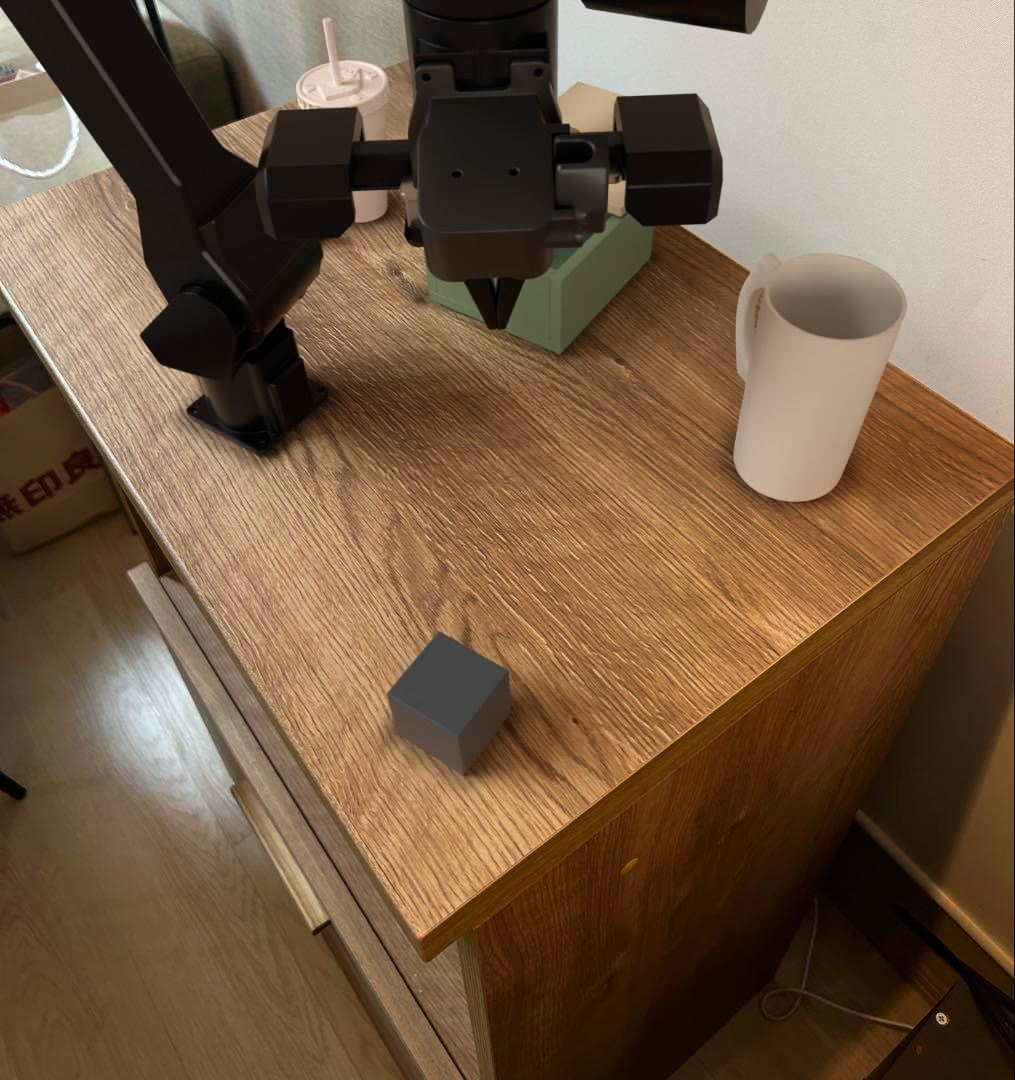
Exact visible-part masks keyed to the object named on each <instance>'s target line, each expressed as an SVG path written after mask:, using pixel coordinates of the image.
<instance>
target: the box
mask: <svg viewBox="0 0 1015 1080" xmlns="http://www.w3.org/2000/svg"><path fill="white" fill-rule="evenodd" d="M654 227H655V226H647V227H643V226H642V225H641V224H640V223H639V222H637V221H636V220H635V219H634V218H633V217H632V216H631V215H630V214H629V213H627V212H625V213H624V214H623V215H622V216H621V217H620V216H617V215H614V214H611V213H608V212H607V220H606V229H605V231H604V232H603V233H594V234H586V235H584V236H583V247H580V248H575V247H573V248H554V254H553V263H552V265H551V267H550V268H549V270H548V271H547V272H546V273H545V274H543V275H541V276H540V277H537V278H534V279H527V280H525V282H524V284H523V286H522V289H521V291H520V294H519V297H518V299H517V302H516V304H515V307H514V309H513V312H512V314H511V317H510V319H509V322H508V324H507V327H506V329H504V330H502V331H503V332H506V333H508V334H511V335H512V336H515V337H518V338H520V339H522V340H525V341H527V342H529V343H532V344H534V345H537V346H538V347H541V348H544V349H546V350H548V351H551V352H553V353H555V354H558V355H561V354H562V353H563V352H564V351H566V349H567V348H568V347H569V346H570V345H571V344H572V342H573V341H574V340H575V339H576V338H577V337H578V336H579V335H580V334H581V333H582V332H583V331H584V330H585V329H586V328H587V326H588V325H589V324H591V322H592V321H593V320H594V319H595V318H596V317H597V316H598V314H599V313H600V312H601V311H602V310H604V308H605V307H606V306H607V305H608V304H609V303H610V302H611V301H612V299H613V298H615V296H616V295H617V294H618V293H619V292H620V291H621V290H622V289H623V288H624V287H625V286H626V284H627V283H628V282H629V281H630V280H631V279H632V278H633V277H634V276H635V275H636V274H637V273H638V272H639V271H640V270H641V268H642V267H643V266H644V265H646V263H647V262H648V261H649V260H650V259H651V256H652V246H653V237H654ZM422 248H423V249H424V247H422ZM423 256H424V257H423V258H424V264H425V266H424V267H425V274H426V282H427V289H428V292H427V293H428V299H429V300H430V301H432V302H435V303H437V304H439V305H442V306H444V307H447V308H448V309H449V308H450V309H451V310H454V311H456V312H457V313H460V314H463V315H465V316H468V317H470V318H473V319H475V320H477V321H480V322H482V323H484V324H485V322H484V320H483V318H482V316H481V314H480V312H479V310H478V308H477V306H476V305H475V303H474V301H473V299H472V297H471V295H470V293H469V291H468V289H467V288H466V286H465V284H464V282H445V281H442V280H439V279H437V278H436V277H435V276H433V275H432V274H431V272H430V271H429V269H428V266H427V263H426V257H425V252H424V251H423ZM494 280H495V287H496V278H494Z"/></svg>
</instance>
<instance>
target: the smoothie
mask: <svg viewBox="0 0 1015 1080" xmlns="http://www.w3.org/2000/svg"><path fill="white" fill-rule="evenodd" d="M322 26H323V30H324V36H325V37H324V38H325V42H326V48H327V54H328V59H329V62H327V63H324V64H320V65H317V66H315V67H313V68H311V69H310V70H308V71H306V72H305V73H304V74H303V75H301V77H300V78H299V79H298V80H297V82H296V86H295V91H296V95H297V104H298V106H299V109H318V108H343V107H358V109H359V111H360V113H361V115H362V118H363V125H364V131H365V137H366V140H365V141H369V140H388V109H387V108H388V107H387V106H388V104H387V103H388V102H389V100H390V99H391V94H392V89H391V87H390V79H389V76H388V74H387V72H386V71H385V70H384V69H383V68H381V67H380V66H378V65H376V64H373V63H371V62H367V61H362V60H352V59H351V60H350V59H349V60H347V59H346V60H339V57H338V52H337V46H336V45H337V44H336V40H335V34H334V28H333V21H332V18H330V17H325V18H323V19H322ZM352 193H353V199H354V204H355V210H356V216H355V222H354V223H357V224H358V223H369V222H373V221H375V220H377V219H379V218H381V217H382V216H383V215H385V214H386V212H387V211H388V208H389V207H388V206H389V202H388V197H389V195H388V190H375V191H353V192H352Z"/></svg>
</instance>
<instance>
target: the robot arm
mask: <svg viewBox="0 0 1015 1080" xmlns="http://www.w3.org/2000/svg"><path fill="white" fill-rule="evenodd" d="M580 2H581V3H582V4H583V6H584V8H585V9H586V10H587V9H588V10H590V11H597V12H605V13H610V14H616V15H623V16H628V17H635V18H641V19H642V18H643V19H647V20H648V19H649V20H655V21H661V22H667V23H668V22H669V23H674V24H681V25H687V26H693V27H700V28H706V29H711V30H719V31H725V32H731V33H737V34H743V35H744V34H745V35H753V33H754V32H756V30H757V28H758V26H759V24H760V22H761V19H762V17H763V15H764V13H765V9H766V8H767V5H768V2H769V0H580ZM401 3H402V13H403V21H404V28H405V29H404V32H405V38H406V40H405V41H406V49H407V57H408V64H409V65H408V67H409V75H410V84H411V93H412V105H411V106H412V107H411V109H410V113H409V118H408V128H407V138H400V139H399V138H397V139H387V140H369V141H365V140H366V137H365V131H364V125H363V118H362V115H361V113H360V111H359V109H358V107H343V108H318V109H301V108H296V109H295V108H294V109H278V110H277V112H276V113H275V114H274V116H273V118H272V119H271V120H270V122H269V124H268V125H267V127H266V132H265V136H264V140H263V143H262V144H263V145H262V148H261V152H260V156H259V160H258V162H257V163H258V164H257V165H255V164H253V163H252V162H250V161H249V160H247V159H245V158H243V157H242V156H240V155H239V154H236V153H235V152H233V151H232V150H229V149H228V148H226V147H225V146H223V145H222V143H221V142H220V141H219V139H218V138H217V137H216V135H215V134H214V132H213V130H212V129H211V127H210V125H209V124H208V123H207V121H206V119H205V118H204V116H203V114H202V113H201V112H200V109H199V108H198V107H197V105H196V103H195V101H194V100H193V99H192V97H191V95H190V94H189V92H188V90H187V89H186V87H185V86H184V84H183V82H182V81H181V79H180V78H179V76H178V75H177V73H176V72H175V69H174V68H173V66H172V65H171V63H170V61H169V60H168V58H167V57H166V56H165V53H164V52H163V50H162V48H161V47H160V46H159V44H158V42H157V41H156V39H155V37H154V36H153V34H152V32H151V31H150V29H149V28H148V27H147V25H146V23H145V21H144V20H143V18H142V17H141V15H140V14H139V12H138V10H137V9H136V7H135V5H134V4H133V2H132V1H131V0H0V9H1V11H2V12H3V13H4V14H5V16H6V18H7V19H8V21H9V22H10V24H12V26H13V27H14V29H16V32H17V33H18V35H19V36H20V37H21V38H22V40H23V42H24V43H25V44H26V46H27V47H28V48H29V50H30V51H31V53H32V54H33V56H34V57H35V58H36V60H37V61H38V63H39V64H40V66H41V67H42V68H43V70H44V71H45V73H46V74H47V75H48V77H49V79H51V81H52V83H53V84H54V85H55V87H56V88H57V90H58V91H59V93H60V94H61V95H62V96H63V98H64V100H65V101H66V102H67V103H68V105H69V106H70V108H71V109H72V111H73V112H74V114H75V115H76V116H77V118H78V119H79V121H80V122H81V123H82V124H83V126H84V128H85V129H86V130H87V132H88V133H89V134H90V136H91V137H92V139H93V140H94V142H95V143H96V145H97V146H98V147H99V149H100V150H101V152H102V153H103V155H105V157H106V159H107V160H108V161H109V163H110V164H111V166H112V167H113V169H114V170H115V172H116V173H117V174H118V176H119V178H120V179H121V180H122V181H123V182H124V184H125V186H126V187H127V188H128V190H129V192H130V193H131V195H132V197H133V198H134V201H135V207H136V214H137V220H138V227H139V234H140V240H141V242H140V243H141V249H142V255H143V261H144V265H145V266H146V268H147V269H146V270H148V272H149V274H150V276H151V278H152V279H153V281H154V283H155V284H156V286H157V287H158V289H159V291H160V293H161V294H162V296H163V297H164V299H165V301H166V303H167V305H166V306H165V307H164V308H163V309H162V310H161V311H160V312H159V313H158V315H156V317H154V318H153V319H152V320H151V322H150V323H149V324H148V325H147V326H146V327H145V328H144V329H143V330H142V331H141V332H140V333H139V337H140V339H141V341H142V342H143V343H144V345H145V346H146V348H147V349H148V350H149V352H150V353H151V355H152V356H153V357H154V359H155V360H156V361H157V363H158V364H159V365H160V366H162V367H166V368H169V369H173V370H176V371H178V372H182V373H185V374H190V375H192V376H195V377H196V380H197V382H198V386H199V388H200V390H201V393H202V394H201V396H199V397H198V398H197V399H196V400H194V401H193V402H192V403H191V404H190V405H188V406H187V408H186V410H185V412H186V415H187V418H188V419H189V420H191V421H192V422H194V423H196V424H198V425H200V426H202V427H204V428H205V429H208V430H210V431H211V432H213V433H214V434H217V435H219V436H220V437H223V438H224V439H226V440H228V441H230V442H231V443H233V444H235V445H237V446H239V447H241V448H243V449H245V450H246V451H249V452H250V453H252V454H253V455H256V456H264V455H267V454H268V453H269V452H270V451H271V450H272V449H273V448H275V446H277V445H278V444H279V443H280V442H281V441H283V440H284V439H285V438H286V437H287V436H288V435H289V434H290V433H291V432H293V431H294V430H295V428H297V427H298V426H299V425H300V424H301V423H302V422H303V421H305V419H307V417H309V416H310V415H311V414H312V413H313V412H314V411H315V410H317V408H319V407H320V406H321V405H322V404H323V403H325V401H326V400H327V399H329V397H330V390H329V387H328V386H327V385H326V384H324V383H323V382H320V381H317V380H315V379H313V378H311V377H309V376H308V373H307V370H306V365H305V361H304V359H303V357H301V356H300V351H299V348H298V344H297V339H296V336H295V333H294V330H293V329H292V328H289V327H287V324H286V320H285V316H286V315H287V314H288V313H289V311H290V310H291V309H292V308H293V307H294V306H295V305H296V304H297V302H298V301H299V300H301V299H302V298H304V296H305V295H306V293H307V290H308V288H309V287H310V286H311V285H312V284H313V282H315V280H316V279H317V277H318V276H319V275H320V272H321V267H322V261H323V259H324V258H325V257H324V256H325V255H324V250H323V246H322V243H321V241H320V240H329V239H332V240H333V239H340V238H341V237H342V236H343V235H344V234H345V233H346V231H347V230H348V229H349V228H350V227H351V226H352V225H353V224H354V223H356V222H355V216H356V210H355V204H354V199H353V193H352V192H353V191H375V190H387V191H397V190H399V194H400V202H401V203H404V210H405V213H404V214H405V216H404V227H403V228H404V229H403V237H404V239H405V241H406V242H407V244H408V245H410V246H411V247H414V248H423V247H424V248H423V253H424V252H425V257H426V263H427V266H428V269H429V271H430V272H431V274H432V275H433V276H435V277H436V278H437V279H439V280H442V281H445V282H464V284H465V286H466V288H467V289H468V291H469V293H470V295H471V297H472V299H473V301H474V303H475V305H476V306H477V308H478V310H479V312H480V314H481V316H482V318H483V320H484V322H485V323H484V322H483V323H484V324H485V326H486V328H487V329H488V330H489V331H496V330H498V331H500V330H501V331H503V330H504V329H506V327H507V324H508V322H509V319H510V317H511V314H512V312H513V309H514V307H515V304H516V302H517V299H518V297H519V294H520V291H521V289H522V286H523V284H524V282H525V280H527V279H534V278H537V277H540V276H541V275H543V274H545V273H546V272H547V271H548V270H549V268H550V267H551V265H552V263H553V254H554V248H573V247H575V248H580V247H583V236H584V235H586V234H594V233H603V232H604V231H605V229H606V220H607V211H608V190H609V184H617V183H620V182H621V181H625V196H624V205H625V211H626V212H627V213H629V214H630V215H631V216H632V217H633V218H634V219H635V220H636V221H637V222H639V223H640V224H641V225H642V226H643V227H647V226H654V227H668V226H670V227H673V226H695V225H696V226H697V225H707V224H708V223H710V222H711V221H712V220H714V219H715V218H717V217H718V216H719V209H720V202H721V195H722V190H723V183H724V159H723V155H722V151H721V148H720V144H719V140H718V137H717V133H716V130H715V125H714V123H713V122H714V121H713V119H712V116H711V111H710V108H709V107H708V106H707V104H706V103H705V102H704V101H703V99H702V98H701V97H700V96H699V94H698V93H697V92H694V93H693V92H692V93H691V92H690V93H672V94H671V93H669V94H667V93H666V94H646V95H645V94H643V95H641V94H640V95H624V96H617V98H616V101H615V104H614V112H613V131H603V132H578V133H572V127H571V126H570V124H569V123H568V124H563V123H562V114H561V111H560V108H559V105H558V97H559V96H558V95H559V93H558V92H559V75H558V74H559V0H401ZM425 257H424V258H425ZM494 278H496V287H495V280H494Z"/></svg>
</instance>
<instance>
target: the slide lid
mask: <svg viewBox="0 0 1015 1080" xmlns="http://www.w3.org/2000/svg"><path fill="white" fill-rule="evenodd" d="M617 96H625V94H621V93H618V92H614V91H611V90H607V89H604V88H601V87H598V86H595V85H591V84H588V83H584V82H582V81H576V82H575V83H574V84H573V85H571V86H570V87H569V88H568V89H566V90H565V91H564V92H563V93H561V94H560V96H558V105H559V108H560V111H561V114H562V123H563V124H568V123H569V124H570V126H571V127H572V133H578V132H603V131H613V112H614V104H615V101H616V98H617ZM624 196H625V181H621V182H620V183H617V184H609V190H608V211H607V212H608V213H611V214H614V215H617V216H620V217H621V216H622V215H623V214H624V213H625V212H626V211H625V205H624Z"/></svg>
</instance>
